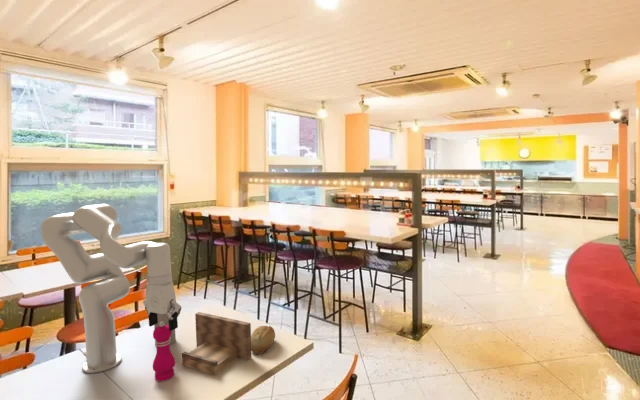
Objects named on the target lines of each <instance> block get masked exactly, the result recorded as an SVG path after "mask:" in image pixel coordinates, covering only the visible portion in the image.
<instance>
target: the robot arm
mask: <svg viewBox="0 0 640 400" xmlns="http://www.w3.org/2000/svg"><path fill="white" fill-rule="evenodd" d="M117 218H118V214H117V211H116V209H115V207H114V206H112V205H111V204H107V203H99V204H98V203H97V204H89V205H84V206H81V207H78V208H77V209H76V210H74V212H66V213H58V214H55V215H51V216H49V217H47V218H45V219H44V220H43V221H42V223H41V226H40V235H41V239H42V241H43V242H44V244H45V245H46V247H48V249H49V250H50V251H51V252H52V253H53V254H54V255H55V256H56V258H57V259H58V260H59V262H60V264H61V265H62V267H63V268H64V270H65V272H66V274H67V275H68V276H69V278H70V279H71V281H72V282H73V283H74V284H78V285H81V284H82V285H83V284H86V283H89V284H87V285H86V286H84V287H83V288H82V289H80V291H79V294H78V302H79V306H80V307H81V311H82V316H83V326H84V339H85V340H84V341H85V352H83V356H85V359H86V360H85V361H84V362H83V364H82V366H81V368H82V371H83V372H85V373H88V374H96V373H97V374H98V373H101V372H105V371H108V370H111V369H113V368H114V367H116V366H117V365H120V363H121V361H122V355H121V354H120V353H118V352H117V341H116V340H117V339H116V338H117V337H116V325H115V314H114V313H113V311H112V309H111V308H109V305H110V304H112V303H114V302H116V301H119V300H121V299H123V298H125V297H126V296H128V294H129V292H130V289H131V287H130V285H131V284H130V283H129V280H128V278H127V276H126V275H125V273H124V272H123V271H122V269H131V268H133V267H137V266H139V265H143V264H146V272H147V274H146V275H147V284H146V289H145V299H144V300H143V302H142V303H143V306H144V310H145V311H146V314H147V316H148V317H147V318H148V326H149V327H152V326H154V325H155V324H157V323H158V317H157V313H158V314H163V315H165V314H167V315H168V316H169V318H170V319H169V331H172V330H174V329H175V330H176V329H177V328H178V327H179V326H178V325H179V324H178V317H179V315H180V314H181V310H182V307H183V306H182V305H180V304H179V303H178V302H177V298H176V296H177V295H176V291H175V286H174V283H173V276H172V275H173V274H172V262H171V246H170V245H169V244H168V243H167V242H155V241H150V240H144V241H140V242H135V243H131V244H127V245H123V244H122V243H120V242H118V241H117V239H118V238H119V236H120V235H121V233H122V225H121V224H120V223H119V222H117ZM86 233H87V234H88V235H90V236H91V237H93V238H94V239H95V240H97V241H99V248H100V251H101V252H100V253H99V252H98V253H95V254H89V253H88V252H87V251H86V250H85V248H84V246H83V245H82V244H81V243H80V242H78V241H77V240H75V239H73V238H71V237H69V236H75V235H79V234H86ZM121 268H122V269H121ZM95 280H97V281H95ZM93 281H94V282H93ZM90 282H91V283H90ZM171 312H173V315H172V314H171Z"/></svg>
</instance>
